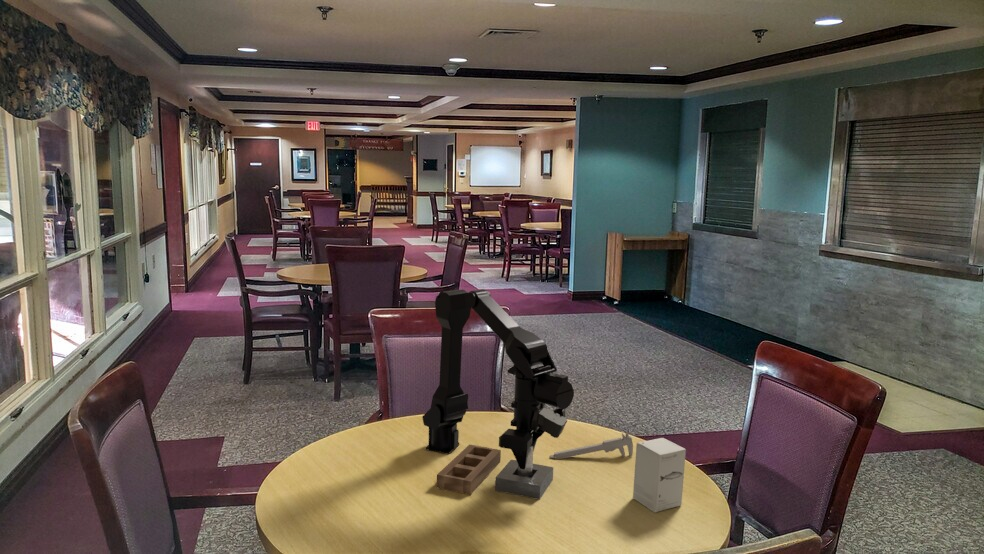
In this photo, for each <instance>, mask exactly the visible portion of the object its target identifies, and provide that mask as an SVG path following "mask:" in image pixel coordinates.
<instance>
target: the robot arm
mask: <svg viewBox="0 0 984 554" xmlns="http://www.w3.org/2000/svg"><path fill="white" fill-rule="evenodd" d="M434 306H435V307H434V308H435V309H434V310H435V317H436V319H437V322H439V324H440V327H441V340H440V341H441V343H440V345H441V346H440V359H439V360H440V362H439V364H440V365H439V385H438V387H437V388H436V390H435V391H434V393H433V395H432V396H431V397H432V399H431V405H430V408H429V409H428V410H427V411H426V412H425V413H424V414H423V415H422V417H421V418H422V423H423V426H425V427H428V445H427V446H425V450H426V451H430V452H437V453H441V454H447V455H449V454H451V453H452V452H453V451H455V449H456V448H458V447H459V446H460V442H459V434H460V433H459V429H458V423H462V421H463V418H464V416H465V415H466V413H467V410H469V406H468V405H469V404H468V401H469V394H468V393H467V392H465V391H464V389H463V388H462V386H461V374H462V373H461V372H462V370H461V369H462V355H463V354H462V352H463V351H462V350H463V331H464V326H465V325H466V324H467V322H468V320H469V318H470V316H471V310H473V311H474V312H475V313H476V314H477V315H478V317H480V319H481V320H482V321H483V322H484V323H485V324H486V325H487V326H488V327H489V329H490V330H491V331H492V332H493V333H494V334H495V336H497V337H498V338H499V340H501V342H502V343H503V344H504V350H505V353H506V355H507V356H508V359H510V361H511V362H512V364H513V365H512V366H511V367H509V369H507V370H506V371H507V373H508V374H510V375H514V398H513V399H514V400H513V401H512V402H511V404H510V407H511V408H513V418H512V419H511V420H510V426H511V427H515V429H514V428H508V429H506V430H505V431H504V432H503V433H502V434H501V435H500V436H499V437H498V447H500V449H501V448H503V449H508V450H511V452H512V454H513V456H514V458H515V460H516V461H517V463H518V465H519V467H520V469H525V467H526V463H527V458H528V453H529V448H531V447H532V446H533V453H534V451H535V448H536V445H537V442H538V439H539V438H541V437H542V436H543V434H544V433H547V434H548V435H550V436H551V437H552V438H555V439H559V437H560V435H561V434H562V433H563V432H564V428H565V426H566V424H567V422H568V417H567V416H566V409H568V408H569V407H570V405H571V404H572V403H573V400H574V396H575V390H574V388H573V384H572V383H571V382H570V381H569V376H568V375H565V374H558V373H556V372H557V367H556V365H555V362H554V361H553V358H552V357H551V354H550V352H549V350H548V346H547V344H546V342H545V341H544V339H542V338H541V337H539V336H538V335H537V334H535V333H534V332H532V331H529V330H526V329H524V328H522V327H521V326H520V325H518V323H517V322H516V321H515V320H514V319H513V318H512V317H511V316H510V314H508V313H507V312H506V311H505V310H504V309H503V308H502V306H501V305H500V304H498V303H497V301H495V299H494V298H493V297H492V296H491V293H490V292H489V291H488V290H487V289H483V288H482V289H476V290H470V291H469V292H468V291H466V290H465V289H463V288H462V289H461V288H460V289H454V290H449V291H448V290H447V291H441V292H440V293H438V295H436V296H435V302H434ZM539 365H540V366H539ZM534 366H535V367H534ZM536 366H537V367H536ZM532 367H534V368H532ZM545 405H546V406H547V405H548V406H550V407H553V408H555V409H553V408H550V409H548V408H547V407H545Z"/></svg>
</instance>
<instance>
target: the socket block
mask: <svg viewBox="0 0 984 554" xmlns="http://www.w3.org/2000/svg"><path fill="white" fill-rule="evenodd" d="M494 479H495V483H494V484H495V485H494V487H495V488H494V490H495V491H497V492H501V493H505V494H506V493H507V494H510V495H516V496H521V497H525V498H530V499H534V500H541V498H542V497H543V495H544V493H546V491H547V490H548V487H550V485H551V483H553V480H554V466H548V465H544V464H538V463H533V469H532V478H528V477H523V476H518V463H517V461H516V459H510V460H509V461H508V462H507V464H506V465H505V466H504V467H503V468H502V469H501V470H500V471H499V472H498V474H497V475H496V476H495V478H494Z"/></svg>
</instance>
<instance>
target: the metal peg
mask: <svg viewBox="0 0 984 554" xmlns="http://www.w3.org/2000/svg"><path fill="white" fill-rule="evenodd" d="M533 464H534V452H533V446H532V447H531V448H529V453H528V458H527V463H526V467H525V469H520V467H519V465H518V476H523V477H528V478H532V469H533Z"/></svg>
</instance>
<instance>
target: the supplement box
mask: <svg viewBox="0 0 984 554" xmlns="http://www.w3.org/2000/svg"><path fill="white" fill-rule="evenodd" d="M635 449H636V450H635V464H634V474H633V475H634V477H633V489H632V490H633V491H632V498H633V500H635V501H637V502H638V503H640V504H641V505H643V506H644V507H645V508H647V509H648V510H650V511H651V512H653V513H655V514H656V513H658V512H662V511H665V510H669V509H672V508H676V507H680V506H682V504H683V493H684V478H685V476H684V475H685V465H686V454H687V449H686V448H685V447H682V446H681V445H679V444H676V443H674V442H672V441H671V440H668V439H666V438H664V437H658V438H654V439H650V440H644V441H639V442H636V448H635Z"/></svg>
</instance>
